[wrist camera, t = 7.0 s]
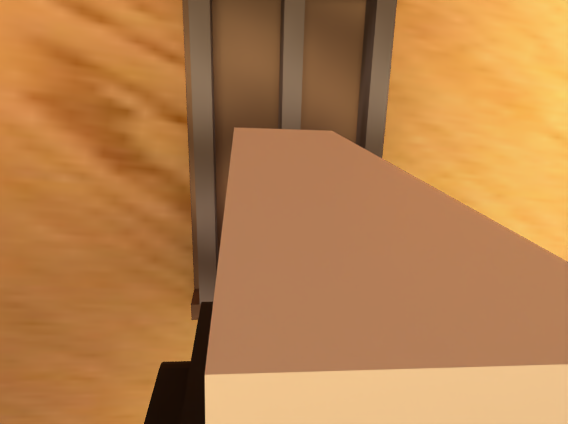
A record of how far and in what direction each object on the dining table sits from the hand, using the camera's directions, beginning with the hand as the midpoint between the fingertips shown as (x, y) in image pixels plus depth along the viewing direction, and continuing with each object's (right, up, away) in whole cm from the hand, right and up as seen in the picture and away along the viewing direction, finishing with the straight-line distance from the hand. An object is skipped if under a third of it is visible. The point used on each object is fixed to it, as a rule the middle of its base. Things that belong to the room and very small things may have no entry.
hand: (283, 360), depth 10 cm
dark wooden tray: (0, +7, +16) cm, 17 cm away
